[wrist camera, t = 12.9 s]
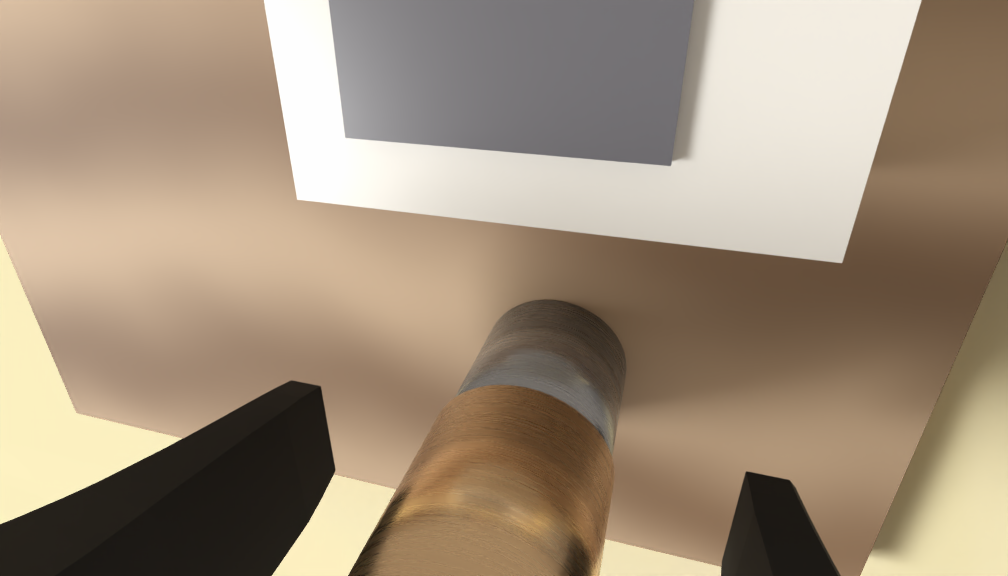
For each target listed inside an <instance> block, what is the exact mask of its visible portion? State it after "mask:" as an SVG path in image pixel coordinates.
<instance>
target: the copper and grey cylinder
mask: <svg viewBox="0 0 1008 576" xmlns="http://www.w3.org/2000/svg"><path fill="white" fill-rule="evenodd" d="M626 370H627V365H626V357H625V353H624V350H623V347H622V345H621V343H620V341H619V339H618V337H617V336H616V334H615V333H614V332H613V330H612V329H611V328H610V327H609V326H608V325H607V324H606V323H605V322H604V321H603V320H602V319H600V318H599V317H598V316H596V315H595V314H593V313H592V312H590V311H588V310H586V309H584V308H582V307H580V306H578V305H575V304H572V303H568V302H564V301H558V300H535V301H530V302H526V303H523V304H520V305H518V306H516V307H514V308H512V309H510V310H509V311H507V312H506V313H505V314H503V315H502V316H501V317H500V319H499V320H498V321H497V322H496V324H495V325H494V326H493V328H492V330H491V332H490V334H489V336H488V337H487V339H486V341H485V343H484V345H483V347H482V348H481V350H480V352H479V354H478V356H477V358H476V359H475V361H474V363H473V365H472V367H471V369H470V370H469V372H468V374H467V376H466V378H465V380H464V381H463V383H462V385H461V387H460V389H459V390H458V392H457V394H456V396H455V398H454V399H452V400H451V401H450V402H449V403H448V404H447V405H446V406H445V407H444V408H443V409H442V411H441V412H440V413H439V415H438V417H437V418H436V420H435V422H434V424H433V425H432V427H431V429H430V431H429V433H428V434H427V436H426V438H425V440H424V442H423V443H422V445H421V447H420V449H419V450H418V452H417V454H416V456H415V458H414V459H413V461H412V463H411V465H410V466H409V468H408V470H407V472H406V474H405V475H404V477H403V479H402V481H401V482H400V484H399V486H398V488H397V490H396V491H395V493H394V495H393V497H392V498H391V500H390V502H389V504H388V506H387V507H386V509H385V511H384V513H383V515H382V516H381V518H380V520H379V522H378V523H377V525H376V527H375V529H374V531H373V532H372V534H371V536H370V538H369V539H368V541H367V543H366V545H365V547H364V548H363V550H362V552H361V554H360V555H359V557H358V559H357V561H356V563H355V564H354V566H353V568H352V570H351V572H350V573H349V575H348V576H599V575H600V568H601V562H602V556H603V549H604V543H605V537H606V530H607V524H608V518H609V511H610V505H611V499H612V492H613V486H614V477H615V471H614V463H613V459H612V455H613V449H614V443H615V437H616V431H617V425H618V420H619V414H620V408H621V402H622V396H623V390H624V384H625V378H626Z"/></svg>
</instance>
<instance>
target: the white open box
mask: <svg viewBox="0 0 1008 576" xmlns="http://www.w3.org/2000/svg"><path fill="white" fill-rule="evenodd" d="M921 1H922V0H264V4H265V10H266V16H267V22H268V28H269V34H270V40H271V46H272V52H273V58H274V64H275V70H276V76H277V82H278V88H279V94H280V100H281V106H282V112H283V118H284V123H285V129H286V135H287V141H288V147H289V153H290V159H291V165H292V171H293V177H294V183H295V189H296V195H297V200H305V201H314V202H322V203H331V204H339V205H348V206H356V207H365V208H374V209H382V210H391V211H399V212H408V213H416V214H425V215H434V216H442V217H451V218H459V219H468V220H476V221H485V222H493V223H502V224H511V225H519V226H528V227H536V228H545V229H553V230H562V231H571V232H579V233H588V234H596V235H605V236H613V237H622V238H630V239H639V240H648V241H656V242H665V243H673V244H682V245H690V246H699V247H708V248H716V249H725V250H733V251H742V252H750V253H759V254H767V255H776V256H785V257H793V258H802V259H810V260H819V261H827V262H836V263H842V262H843V258H844V255H845V252H846V249H847V245H848V242H849V239H850V235H851V232H852V229H853V225H854V222H855V219H856V216H857V212H858V209H859V206H860V202H861V199H862V196H863V192H864V189H865V186H866V182H867V179H868V176H869V173H870V169H871V166H872V163H873V159H874V156H875V153H876V149H877V146H878V143H879V139H880V136H881V133H882V130H883V126H884V123H885V120H886V116H887V113H888V110H889V106H890V103H891V100H892V96H893V93H894V90H895V87H896V83H897V80H898V77H899V73H900V70H901V67H902V63H903V60H904V57H905V54H906V50H907V47H908V44H909V40H910V37H911V34H912V30H913V27H914V24H915V20H916V17H917V14H918V11H919V7H920V4H921Z"/></svg>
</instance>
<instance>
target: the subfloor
mask: <svg viewBox="0 0 1008 576" xmlns="http://www.w3.org/2000/svg"><path fill="white" fill-rule="evenodd" d="M0 235H1V238H2V240H3V242H4V245H5V247H6V249H7V252H8V254H9V256H10V259H11V261H12V263H13V266H14V268H15V270H16V273H17V275H18V277H19V280H20V282H21V284H22V287H23V289H24V291H25V294H26V296H27V298H28V301H29V303H30V305H31V308H32V310H33V312H34V315H35V317H36V319H37V322H38V324H39V326H40V329H41V331H42V333H43V336H44V338H45V340H46V343H47V345H48V347H49V350H50V352H51V354H52V357H53V359H54V361H55V364H56V366H57V368H58V371H59V373H60V375H61V378H62V380H63V382H64V385H65V387H66V389H67V392H68V394H69V397H70V399H71V401H72V404H73V406H74V408H75V411H76V413H79V414H83V415H87V416H92V417H96V418H100V419H104V420H108V421H113V422H117V423H121V424H125V425H129V426H134V427H138V428H142V429H146V430H150V431H155V432H159V433H163V434H167V435H171V436H176V437H180V438H185V437H187V436H189V435H190V434H192V433H194V432H196V431H198V430H200V429H201V428H203V427H205V426H207V425H209V424H211V423H212V422H214V421H216V420H218V419H220V418H221V417H223V416H225V415H227V414H229V413H230V412H232V411H234V410H236V409H238V408H239V407H241V406H243V405H245V404H247V403H248V402H250V401H252V400H254V399H256V398H258V397H259V396H261V395H263V394H265V393H267V392H269V391H271V390H273V389H275V388H276V387H278V386H280V385H282V384H285V383H287V382H289V381H291V380H293V381H298V382H303V383H308V384H313V385H318V386H321V389H322V395H323V401H324V407H325V412H326V418H327V424H328V429H329V435H330V441H331V446H332V452H333V458H334V464H335V469H336V471H335V473H334V474H335V475H339V476H343V477H347V478H352V479H356V480H360V481H364V482H368V483H373V484H377V485H381V486H385V487H389V488H394V489H397V488H398V486H399V484H400V482H401V481H402V479H403V477H404V475H405V474H406V472H407V470H408V468H409V466H410V465H411V463H412V461H413V459H414V458H415V456H416V454H417V452H418V450H419V449H420V447H421V445H422V443H423V442H424V440H425V438H426V436H427V434H428V433H429V431H430V429H431V427H432V425H433V424H434V422H435V420H436V418H437V417H438V415H439V413H440V412H441V411H442V409H443V408H444V407H445V406H446V405H447V404H448V403H449V402H450V401H451V400H452V399H454V398H455V396H456V394H457V392H458V390H459V389H460V387H461V385H462V383H463V381H464V380H465V378H466V376H467V374H468V372H469V370H470V369H471V367H472V365H473V363H474V361H475V359H476V358H477V356H478V354H479V352H480V350H481V348H482V347H483V345H484V343H485V341H486V339H487V337H488V336H489V334H490V332H491V330H492V328H493V326H494V325H495V324H496V322H497V321H498V320H499V319H500V317H501V316H502V315H503V314H505V313H506V312H507V311H509V310H510V309H512V308H514V307H516V306H518V305H520V304H523V303H526V302H530V301H535V300H558V301H564V302H568V303H572V304H575V305H578V306H580V307H582V308H584V309H586V310H588V311H590V312H592V313H593V314H595V315H596V316H598V317H599V318H600V319H602V320H603V321H604V322H605V323H606V324H607V325H608V326H609V327H610V328H611V329H612V330H613V332H614V333H615V334H616V336H617V337H618V339H619V341H620V343H621V345H622V347H623V350H624V353H625V357H626V365H627V370H626V378H625V384H624V390H623V396H622V402H621V408H620V414H619V420H618V425H617V431H616V437H615V443H614V449H613V455H612V459H613V463H614V471H615V477H614V486H613V492H612V499H611V505H610V511H609V518H608V524H607V530H606V537H605V539H607V540H612V541H616V542H620V543H624V544H628V545H633V546H637V547H641V548H645V549H649V550H654V551H658V552H662V553H666V554H670V555H675V556H679V557H683V558H687V559H691V560H696V561H700V562H704V563H708V564H712V565H717V566H721V567H722V559H723V555H724V551H725V547H726V544H727V540H728V536H729V532H730V529H731V525H732V521H733V517H734V514H735V510H736V506H737V502H738V499H739V495H740V491H741V487H742V484H743V480H744V476H745V472H746V471H748V472H753V473H758V474H763V475H768V476H773V477H778V478H783V479H788V480H790V481H791V482H792V484H793V485H794V486H795V487H796V489H797V492H798V494H799V496H800V498H801V500H802V502H803V504H804V506H805V508H806V510H807V512H808V514H809V516H810V518H811V520H812V522H813V524H814V526H815V528H816V530H817V532H818V534H819V536H820V538H821V540H822V542H823V544H824V546H825V548H826V549H827V551H828V553H829V555H830V557H831V559H832V561H833V562H834V564H835V566H836V568H837V570H838V572H839V573H840V575H841V576H860V575H861V572H862V570H863V568H864V566H865V563H866V561H867V559H868V557H869V554H870V552H871V550H872V547H873V545H874V543H875V541H876V538H877V536H878V534H879V532H880V529H881V527H882V525H883V522H884V520H885V518H886V516H887V513H888V511H889V509H890V506H891V504H892V502H893V500H894V497H895V495H896V493H897V491H898V488H899V486H900V484H901V481H902V479H903V477H904V475H905V472H906V470H907V468H908V466H909V463H910V461H911V459H912V456H913V454H914V452H915V450H916V447H917V445H918V443H919V441H920V438H921V436H922V434H923V431H924V429H925V427H926V425H927V422H928V420H929V418H930V415H931V413H932V411H933V409H934V406H935V404H936V402H937V400H938V397H939V395H940V393H941V390H942V388H943V386H944V384H945V381H946V379H947V377H948V375H949V372H950V370H951V368H952V365H953V363H954V361H955V359H956V356H957V354H958V352H959V349H960V347H961V345H962V343H963V340H964V338H965V336H966V334H967V331H968V329H969V327H970V324H971V322H972V320H973V318H974V315H975V313H976V311H977V309H978V306H979V304H980V302H981V299H982V297H983V295H984V293H985V290H986V288H987V286H988V284H989V281H990V279H991V277H992V274H993V272H994V270H995V268H996V265H997V263H998V261H999V258H1000V256H1001V254H1002V252H1003V249H1004V247H1005V245H1006V243H1007V240H1008V0H922V1H921V4H920V7H919V11H918V14H917V17H916V20H915V24H914V27H913V30H912V34H911V37H910V40H909V44H908V47H907V50H906V54H905V57H904V60H903V63H902V67H901V70H900V73H899V77H898V80H897V83H896V87H895V90H894V93H893V96H892V100H891V103H890V106H889V110H888V113H887V116H886V120H885V123H884V126H883V130H882V133H881V136H880V139H879V143H878V146H877V149H876V153H875V156H874V159H873V163H872V166H871V169H870V173H869V176H868V179H867V182H866V186H865V189H864V192H863V196H862V199H861V202H860V206H859V209H858V212H857V216H856V219H855V222H854V225H853V229H852V232H851V235H850V239H849V242H848V245H847V249H846V252H845V255H844V258H843V262H842V263H836V262H827V261H819V260H810V259H802V258H793V257H785V256H776V255H767V254H759V253H750V252H742V251H733V250H725V249H716V248H708V247H699V246H690V245H682V244H673V243H665V242H656V241H648V240H639V239H630V238H622V237H613V236H605V235H596V234H588V233H579V232H571V231H562V230H553V229H545V228H536V227H528V226H519V225H511V224H502V223H493V222H485V221H476V220H468V219H459V218H451V217H442V216H434V215H425V214H416V213H408V212H399V211H391V210H382V209H374V208H365V207H356V206H348V205H339V204H331V203H322V202H314V201H305V200H297V195H296V189H295V183H294V177H293V171H292V165H291V159H290V153H289V147H288V141H287V135H286V129H285V123H284V118H283V112H282V106H281V100H280V94H279V88H278V82H277V76H276V70H275V64H274V58H273V52H272V46H271V40H270V34H269V28H268V22H267V16H266V10H265V4H264V0H0Z"/></svg>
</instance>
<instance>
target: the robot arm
mask: <svg viewBox="0 0 1008 576" xmlns="http://www.w3.org/2000/svg"><path fill="white" fill-rule="evenodd" d="M335 471H336V469H335V464H334V458H333V452H332V446H331V441H330V435H329V429H328V424H327V418H326V412H325V407H324V401H323V395H322V389H321V386H318V385H313V384H308V383H303V382H298V381H293V380H291V381H289V382H287V383H285V384H282V385H280V386H278V387H276V388H275V389H273V390H271V391H269V392H267V393H265V394H263V395H261V396H259V397H258V398H256V399H254V400H252V401H250V402H248V403H247V404H245V405H243V406H241V407H239V408H238V409H236V410H234V411H232V412H230V413H229V414H227V415H225V416H223V417H221V418H220V419H218V420H216V421H214V422H212V423H211V424H209V425H207V426H205V427H203V428H201V429H200V430H198V431H196V432H194V433H192V434H190V435H189V436H187V437H185V438H183V439H181V440H179V441H178V442H176V443H174V444H172V445H170V446H168V447H166V448H165V449H163V450H161V451H159V452H157V453H155V454H153V455H151V456H149V457H147V458H145V459H143V460H141V461H139V462H137V463H135V464H133V465H131V466H129V467H127V468H125V469H123V470H121V471H119V472H117V473H115V474H113V475H111V476H109V477H107V478H105V479H103V480H101V481H99V482H97V483H95V484H93V485H91V486H89V487H86V488H84V489H82V490H80V491H78V492H75V493H73V494H71V495H69V496H67V497H64V498H62V499H60V500H57V501H55V502H53V503H50V504H48V505H46V506H43V507H41V508H39V509H36V510H34V511H32V512H29V513H27V514H25V515H22V516H20V517H17V518H15V519H13V520H10V521H8V522H5V523H2V524H0V576H272V574H273V573H274V571H275V570H276V569H277V567H278V566H279V564H280V563H281V561H282V560H283V559H284V557H285V556H286V554H287V553H288V551H289V550H290V548H291V547H292V545H293V544H294V543H295V541H296V540H297V538H298V537H299V535H300V534H301V532H302V531H303V529H304V528H305V526H306V525H307V523H308V522H309V520H310V518H311V517H312V515H313V513H314V511H315V509H316V508H317V506H318V504H319V502H320V500H321V498H322V496H323V494H324V492H325V490H326V488H327V487H328V485H329V483H330V481H331V479H332V477H333V475H334V473H335ZM721 576H841V575H840V573H839V572H838V570H837V568H836V566H835V564H834V562H833V561H832V559H831V557H830V555H829V553H828V551H827V549H826V548H825V546H824V544H823V542H822V540H821V538H820V536H819V534H818V532H817V530H816V528H815V526H814V524H813V522H812V520H811V518H810V516H809V514H808V512H807V510H806V508H805V506H804V504H803V502H802V500H801V498H800V496H799V494H798V492H797V489H796V487H795V486H794V485H793V484H792V482H791V481H790V480H788V479H783V478H778V477H773V476H768V475H763V474H758V473H753V472H748V471H746V472H745V476H744V480H743V484H742V487H741V491H740V495H739V499H738V502H737V506H736V510H735V514H734V517H733V521H732V525H731V529H730V532H729V536H728V540H727V544H726V547H725V551H724V555H723V559H722V568H721Z"/></svg>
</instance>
